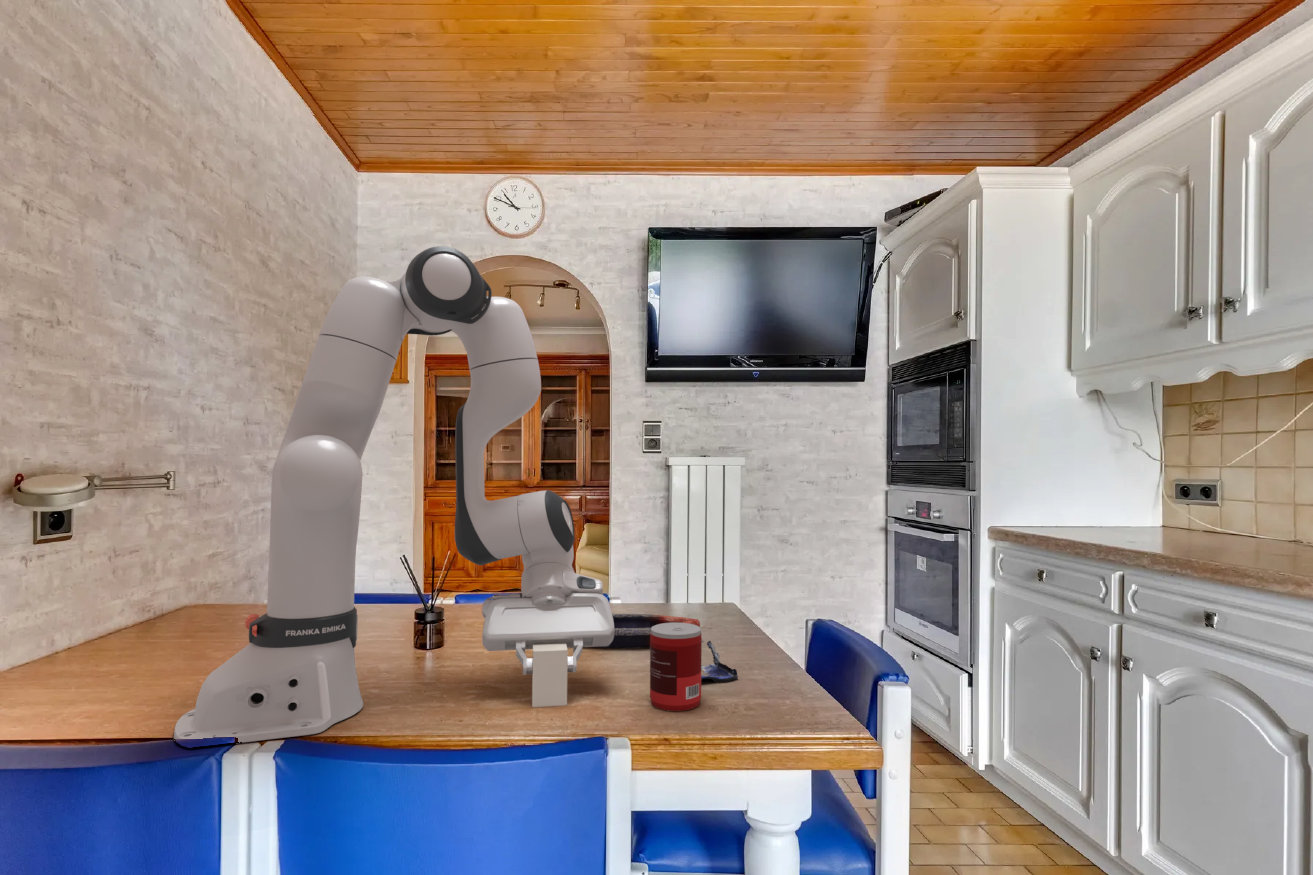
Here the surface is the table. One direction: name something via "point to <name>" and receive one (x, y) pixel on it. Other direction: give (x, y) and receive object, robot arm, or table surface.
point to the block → (549, 675)
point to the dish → (639, 629)
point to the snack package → (718, 668)
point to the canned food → (675, 666)
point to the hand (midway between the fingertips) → (549, 671)
